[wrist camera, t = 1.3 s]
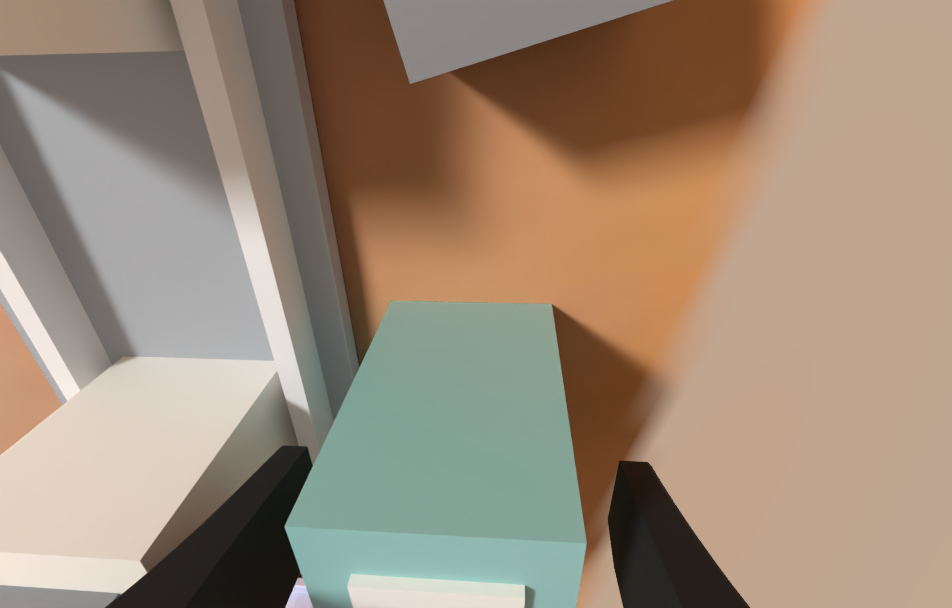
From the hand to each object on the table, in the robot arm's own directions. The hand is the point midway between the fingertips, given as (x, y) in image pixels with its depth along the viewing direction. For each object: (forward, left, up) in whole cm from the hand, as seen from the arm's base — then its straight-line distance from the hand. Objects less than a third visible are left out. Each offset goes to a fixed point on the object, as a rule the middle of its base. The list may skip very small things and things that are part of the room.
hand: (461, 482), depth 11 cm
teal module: (0, 0, -4) cm, 4 cm away
